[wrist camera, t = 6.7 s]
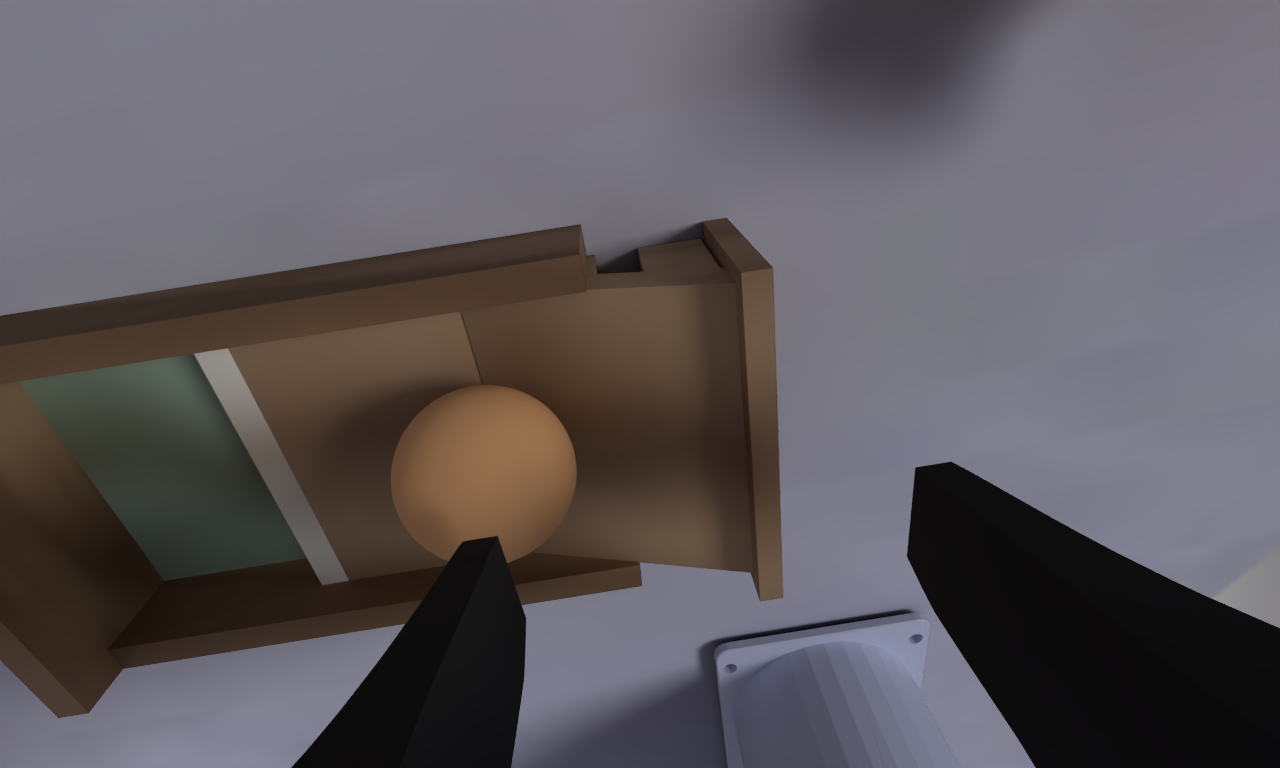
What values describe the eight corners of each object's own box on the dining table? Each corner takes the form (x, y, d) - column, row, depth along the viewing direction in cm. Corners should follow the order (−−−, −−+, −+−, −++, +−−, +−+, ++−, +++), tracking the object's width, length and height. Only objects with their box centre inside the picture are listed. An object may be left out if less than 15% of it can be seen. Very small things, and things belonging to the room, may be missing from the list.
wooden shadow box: (745, 503, 19) (783, 608, 15) (156, 597, 19) (52, 724, 15) (725, 201, 14) (772, 246, 11) (-50, 323, 14) (-269, 411, 11)
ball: (553, 618, 12) (390, 596, 13) (613, 490, 15) (479, 482, 16) (500, 459, 10) (316, 451, 11) (582, 352, 13) (432, 354, 15)
